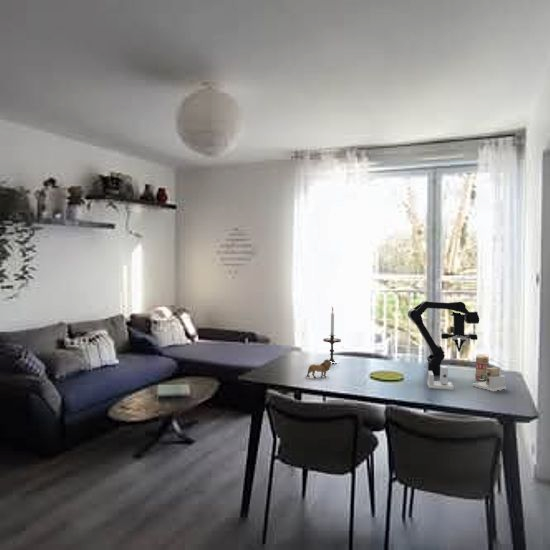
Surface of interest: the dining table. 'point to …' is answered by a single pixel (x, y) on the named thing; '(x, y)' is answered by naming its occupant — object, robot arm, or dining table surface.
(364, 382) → the dining table surface
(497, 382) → the white l-shaped holder
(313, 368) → the lion figurine
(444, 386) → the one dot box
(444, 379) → the one dot key
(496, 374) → the two dot key
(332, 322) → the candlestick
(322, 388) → the dining table surface
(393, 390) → the dining table surface
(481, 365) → the stack of blocks
